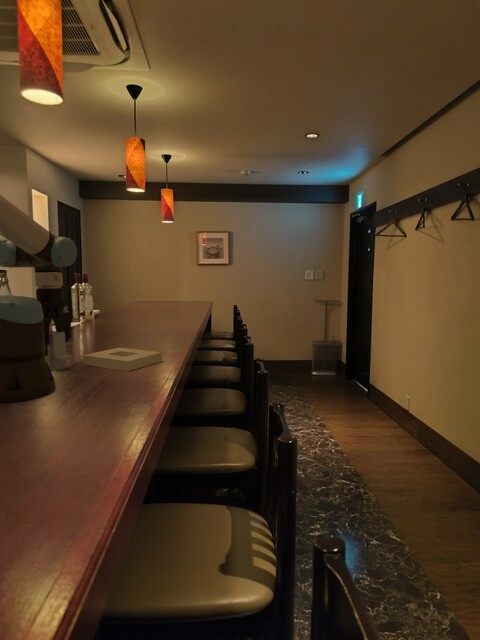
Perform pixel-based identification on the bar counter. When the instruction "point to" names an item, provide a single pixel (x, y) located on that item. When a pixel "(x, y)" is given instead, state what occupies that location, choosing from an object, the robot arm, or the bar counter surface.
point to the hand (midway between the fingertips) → (54, 364)
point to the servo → (58, 350)
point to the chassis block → (123, 359)
